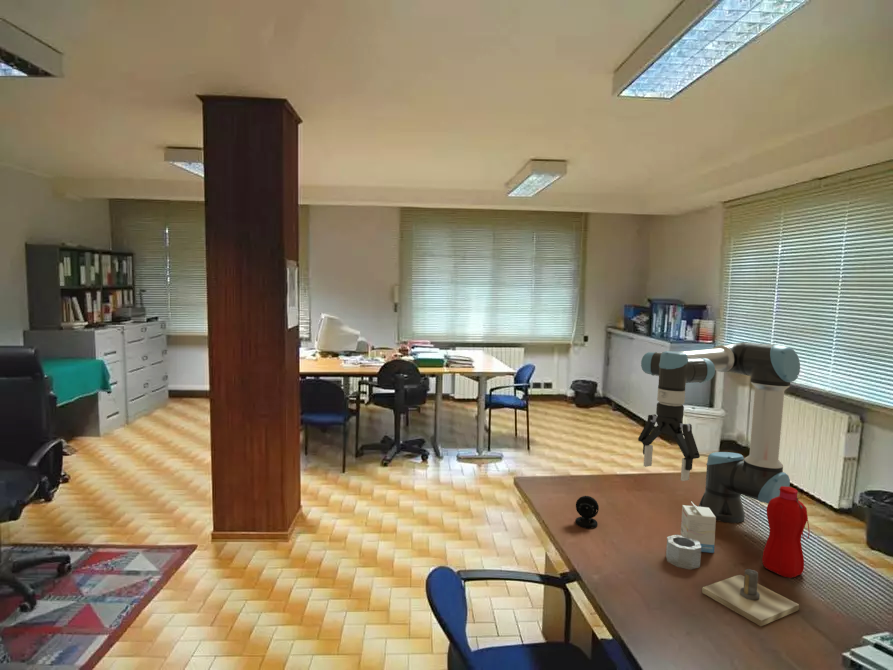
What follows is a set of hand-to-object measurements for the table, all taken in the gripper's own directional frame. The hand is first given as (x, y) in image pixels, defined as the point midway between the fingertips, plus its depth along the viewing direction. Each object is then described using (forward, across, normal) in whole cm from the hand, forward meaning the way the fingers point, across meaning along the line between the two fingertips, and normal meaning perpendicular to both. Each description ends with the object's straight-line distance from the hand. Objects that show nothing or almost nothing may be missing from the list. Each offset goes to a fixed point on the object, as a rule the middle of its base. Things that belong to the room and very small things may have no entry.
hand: (665, 472), depth 158 cm
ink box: (+27, -1, +18) cm, 32 cm away
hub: (+27, +4, +5) cm, 27 cm away
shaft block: (+27, +26, +3) cm, 37 cm away
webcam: (+27, -28, -4) cm, 39 cm away
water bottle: (+27, +21, +28) cm, 44 cm away
